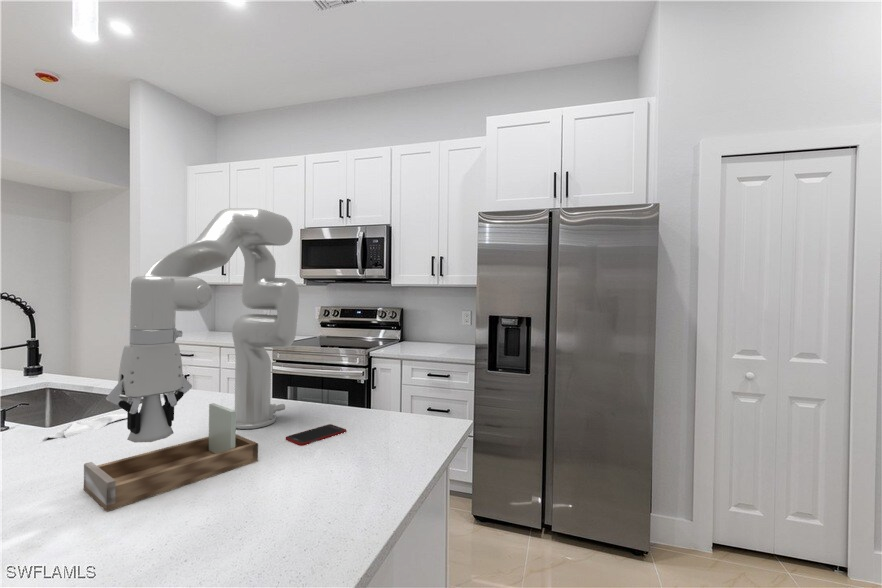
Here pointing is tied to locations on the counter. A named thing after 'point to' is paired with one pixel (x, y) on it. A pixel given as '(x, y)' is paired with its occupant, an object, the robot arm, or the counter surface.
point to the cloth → (86, 426)
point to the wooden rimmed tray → (162, 471)
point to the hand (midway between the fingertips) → (151, 427)
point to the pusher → (221, 428)
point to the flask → (152, 421)
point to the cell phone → (315, 434)
